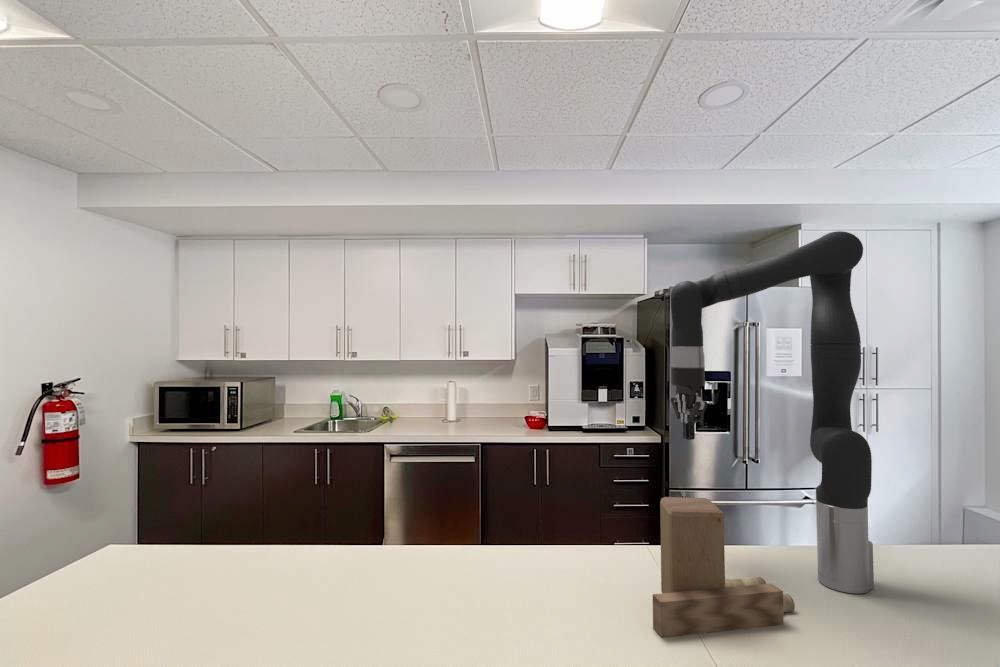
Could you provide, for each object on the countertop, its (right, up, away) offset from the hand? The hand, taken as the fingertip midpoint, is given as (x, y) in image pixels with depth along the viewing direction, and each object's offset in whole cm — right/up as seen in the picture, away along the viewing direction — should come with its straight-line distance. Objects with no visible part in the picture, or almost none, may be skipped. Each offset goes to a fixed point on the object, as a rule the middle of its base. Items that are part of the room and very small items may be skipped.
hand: (688, 439), depth 122 cm
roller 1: (+5, -26, -17) cm, 31 cm away
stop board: (-5, -28, -29) cm, 41 cm away
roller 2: (+6, -28, -24) cm, 38 cm away
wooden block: (-7, -29, -22) cm, 37 cm away
